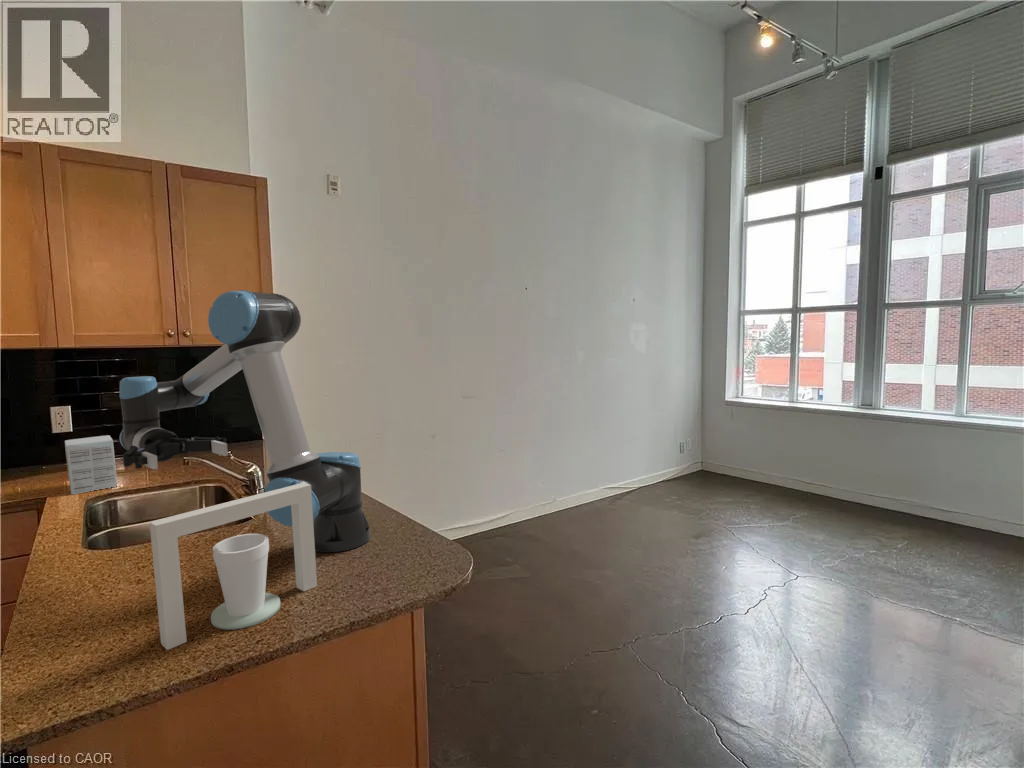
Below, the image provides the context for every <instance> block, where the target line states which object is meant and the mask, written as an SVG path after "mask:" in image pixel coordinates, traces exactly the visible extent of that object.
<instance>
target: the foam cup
mask: <svg viewBox="0 0 1024 768" xmlns="http://www.w3.org/2000/svg"><path fill="white" fill-rule="evenodd" d="M269 539H270V538H269V537H268V536H267V535H266V534H262V533H245V534H238V535H234V536H231V537H228V538H224V539H222V540H221V541H219V542H217V543H215V545H214V546H213V547H212V556H213V561H214V563H215V567H216V570H217V574H218V579H219V582H220V583H219V584H220V587H221V590H222V594H223V598H224V602H225V604H226V608H227V610H228V614H229V615H231V616H234V617H238V616H246V615H250V614H253V613H255V612H257V611H259V610H260V609H261V608H262V607H263V606H264V601H265V593H266V588H267V587H266V586H267V573H268V572H267V571H268V561H269V552H270V540H269Z"/></svg>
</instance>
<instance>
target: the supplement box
mask: <svg viewBox="0 0 1024 768" xmlns="http://www.w3.org/2000/svg"><path fill="white" fill-rule="evenodd" d="M64 448H65V449H64V450H65V459H66V468H67V475H68V484H69V488H70V489H69V490H70V494H71V495H79V494H83V493H84V492H85V493H90V491H91V492H95V491H94V490H97V491H100V490H99V489H103V490H106V489H105V488H109V489H112V488H111V487H115V486H117V487H118V480H117V469H116V459H115V457H116V456H115V449H114V448H115V447H114V440H113V438H112V437H111V435H108V434H106V435H99V436H89V437H82V438H72V439H67V440H64ZM115 488H116V487H115Z"/></svg>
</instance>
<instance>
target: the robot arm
mask: <svg viewBox="0 0 1024 768" xmlns="http://www.w3.org/2000/svg"><path fill="white" fill-rule="evenodd" d="M209 308H210V309H209V310H208V311H209V312H208V318H207V319H208V320H207V322H208V327H209V330H210V333H211V335H212V336H213V337H214V339H216V340H217V341H218V342H219V343H221V344H223V345H222V346H221V347H219V348H217V350H214V352H212V353H211V354H210V355H208V356H207V357H206V358H204V359H203V360H202V361H200V362H199V363H198V364H196V365H195V366H194V367H192V368H191V369H190V370H188V371H187V372H185V374H183V375H181V376H180V377H179V378H177V379H174V380H169V381H159V382H158V381H157V379H156V377H154V376H151V375H150V376H149V375H147V376H146V375H143V376H131V377H130V376H128V377H124V378H122V379H121V380H119V396H118V397H119V398H120V405H121V406H120V407H121V415H122V430H121V432H120V434H119V439H118V440H119V443H120V444H121V446H122V448H124V450H126V451H125V452H124V453H123V454H122V461H123V467H125V468H126V467H128V468H129V467H130V466H132V465H133V464H134V466H135V467H134V468H135V469H142V468H143V466H145V467H147V468H150V469H152V470H158V469H159V466H158V462H159V463H160V462H161V463H163V462H166V461H169V460H171V459H172V458H174V457H175V456H177V455H184V454H185V455H187V454H190V453H192V452H211V453H213V454H217V455H218V456H219V455H220V456H223V457H227V456H229V454H228V453H229V450H228V443H227V438H226V437H219V436H215V437H200V436H191V437H190V438H189V437H188V438H187V437H185V438H179V437H178V435H177V434H176V433H174V432H173V431H170V430H168V429H165V428H162V427H161V424H160V423H161V421H160V412H166V411H171V410H177V409H184V408H194V407H196V406H198V405H202V404H205V402H207V400H208V398H209V397H210V393H211V392H213V391H215V389H216V388H218V387H219V386H220V385H222V384H224V383H225V382H226V381H227V380H229V379H230V378H232V377H233V376H235V375H236V374H237V373H239V372H240V371H243V375H244V378H245V382H246V385H247V387H248V391H249V394H250V398H251V401H252V404H253V408H254V412H255V414H256V417H257V421H258V424H259V426H260V430H261V433H262V437H263V440H264V444H265V446H266V450H267V454H268V456H269V459H270V465H269V467H268V468H267V470H266V475H267V479H268V483H267V484H266V486H265V487H264V492H263V493H265V492H269V491H273V490H276V489H280V488H284V487H288V486H292V485H296V484H300V483H306V484H309V485H311V494H312V510H313V526H314V543H315V552H319V553H320V552H321V553H338V552H345V551H349V550H353V549H356V548H358V547H361V546H363V545H365V544H366V543H367V542H369V541H370V539H371V527H370V524H369V522H368V520H367V517H366V515H365V513H364V512H365V511H364V509H363V503H362V501H363V498H362V482H361V481H362V479H361V467H362V466H361V463H360V457H359V455H358V454H357V453H354V452H350V451H349V452H347V451H345V452H344V451H329V452H319V453H315V452H313V451H312V450H311V449H310V445H309V442H308V439H307V435H306V432H305V428H304V425H303V423H302V419H301V415H300V412H299V410H298V409H299V408H298V406H297V403H296V399H295V395H294V392H293V390H292V386H291V383H290V379H289V376H288V373H287V370H286V367H285V363H284V360H283V359H284V358H283V356H282V353H281V352H282V349H283V348H284V346H285V344H287V343H288V342H289V341H291V340H292V339H293V338H294V337H295V336H296V335H297V333H298V332H299V330H300V327H301V323H302V319H301V318H302V316H301V313H300V309H299V308H298V307H297V304H295V303H294V301H292V300H291V299H290V298H288V297H287V296H285V295H282V294H278V293H268V292H258V291H249V290H245V289H242V290H230V291H225V292H223V293H221V294H220V295H219V296H217V297H216V298H215V299H214V301H213V302H212V306H211V307H209ZM267 514H268V516H270V517H271V518H272V520H274V521H276V522H279V524H280V525H283V526H285V527H292V512H291V505H289V506H286V507H282V508H279V509H275V510H272V511H268V512H267Z"/></svg>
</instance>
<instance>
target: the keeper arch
mask: <svg viewBox="0 0 1024 768" xmlns="http://www.w3.org/2000/svg"><path fill="white" fill-rule="evenodd" d="M264 492H265V491H264ZM264 492H262V493H257V494H254V495H249V496H246V497H242V498H237V499H234V500H233V499H232V500H230V501H227V502H222V503H219V504H214V505H210V506H207V507H202V508H199V509H195V510H190V511H187V512H183V513H180V514H179V513H178V514H175V515H171V516H167V517H163V518H160V519H159V518H158V519H155V520H152V521H149V530H150V543H151V551H152V552H151V554H152V564H153V573H154V582H155V583H154V585H155V594H156V606H157V607H156V608H157V614H158V615H157V616H158V617H157V618H158V625H159V626H158V627H159V638H160V644H161V645H162V647H163V648H164V649H166V651H169V650H171V649H173V648H176V647H178V646H181V645H182V644H183V645H184V644H186V643H187V642H188V640H187V639H188V638H187V630H186V628H187V627H186V619H185V608H184V594H183V586H182V573H181V564H180V561H181V560H180V551H179V540H178V538H181V537H183V536H186V535H191V534H194V533H196V532H201V531H205V530H208V529H211V528H214V527H215V528H216V527H218V526H222V525H225V524H230V523H233V522H235V521H236V522H237V521H240V520H243V519H247V518H250V517H254V516H257V515H260V514H261V515H262V514H264V513H268V511H272V510H275V509H279V508H282V507H286V506H289V505H291V512H292V526H291V527H292V540H293V556H294V568H295V569H294V571H295V583H296V585H295V586H296V588H297V589H299V590H301V591H302V592H306V591H308V590H311V589H313V588H315V587H318V578H317V562H316V560H317V559H316V551H315V543H314V526H313V510H312V494H311V485H309V484H306V483H300V484H296V485H292V486H288V487H284V488H280V489H276V490H273V491H269V492H265V493H264ZM280 609H281V598H280V597H279V596H278V595H276V594H274V593H271V592H265V601H264V606H263V607H262V608H261V609H260V610H259V611H257V612H255V613H253V614H250V615H246V616H238V617H234V616H231V615H229V614H228V610H227V608H226V604H225V601H224V602H223V603H221V604H220V605H218V606H217V607H216V608H215V609H214V610H213V611H212V613H211V614H210V623H211V624H212V626H213V627H215V628H216V629H218V630H219V629H220V630H225V631H226V630H227V631H230V630H232V631H233V630H240V629H246V628H250V627H252V626H257V625H258V624H261V623H264V622H266V621H267V620H269V619H270V618H272V617H274V615H276V614H277V613H278V611H280Z"/></svg>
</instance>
